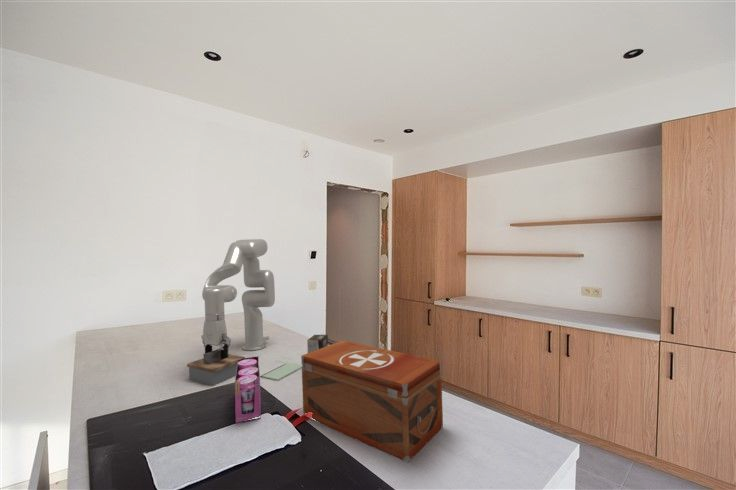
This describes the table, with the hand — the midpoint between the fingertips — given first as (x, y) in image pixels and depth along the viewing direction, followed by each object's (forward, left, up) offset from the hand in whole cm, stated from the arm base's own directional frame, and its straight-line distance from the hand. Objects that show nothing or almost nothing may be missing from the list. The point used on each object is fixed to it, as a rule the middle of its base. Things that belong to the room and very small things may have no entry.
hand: (216, 357), depth 144 cm
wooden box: (+3, +75, -10) cm, 76 cm away
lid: (0, 0, -3) cm, 3 cm away
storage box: (0, 0, -9) cm, 9 cm away
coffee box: (-21, +38, -9) cm, 44 cm away
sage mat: (-17, +18, -9) cm, 26 cm away
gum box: (+12, +32, -9) cm, 35 cm away
